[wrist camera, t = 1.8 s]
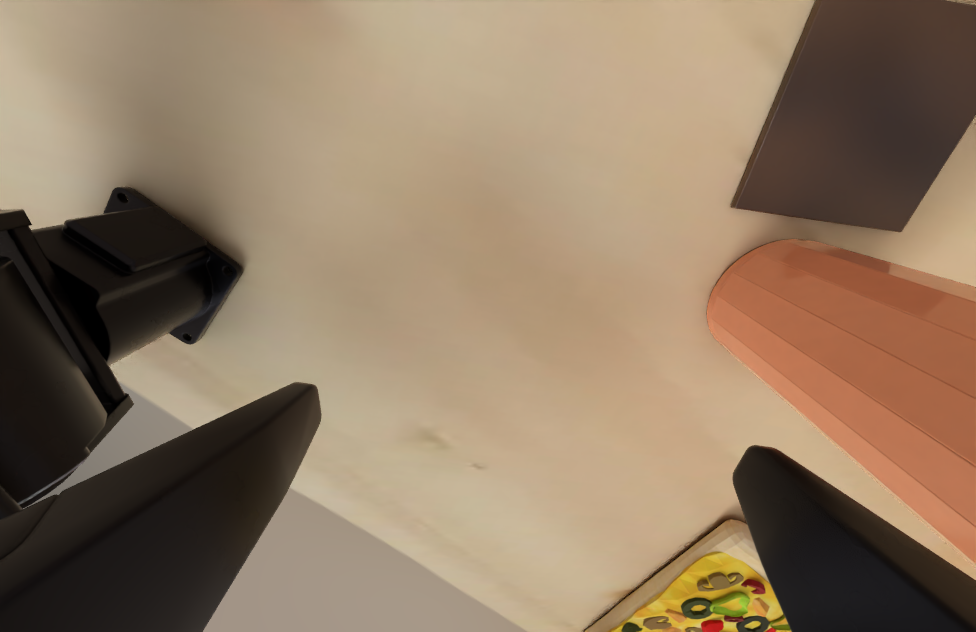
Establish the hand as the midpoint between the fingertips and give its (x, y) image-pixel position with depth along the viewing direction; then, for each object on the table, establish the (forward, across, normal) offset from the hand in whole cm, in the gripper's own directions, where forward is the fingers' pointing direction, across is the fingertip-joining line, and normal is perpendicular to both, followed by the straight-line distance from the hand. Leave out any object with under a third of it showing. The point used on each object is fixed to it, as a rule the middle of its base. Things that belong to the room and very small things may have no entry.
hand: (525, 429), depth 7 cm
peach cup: (+13, -14, +1) cm, 19 cm away
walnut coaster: (+14, -14, -8) cm, 21 cm away
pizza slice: (+13, -18, +30) cm, 37 cm away
